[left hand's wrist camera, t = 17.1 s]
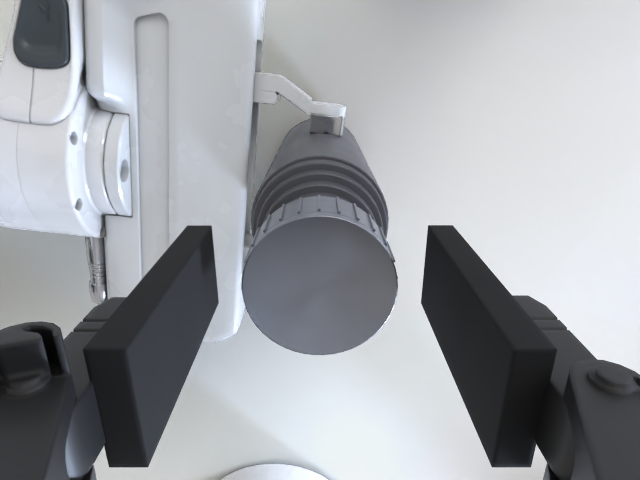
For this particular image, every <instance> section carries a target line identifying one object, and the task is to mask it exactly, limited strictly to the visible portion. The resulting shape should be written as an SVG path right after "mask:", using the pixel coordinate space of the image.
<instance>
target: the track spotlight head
mask: <svg viewBox="0 0 640 480" xmlns="http://www.w3.org/2000/svg"><path fill="white" fill-rule="evenodd" d="M309 124H310V119H309V120H306V121H304V122H301V123H300V124H298V125H296V126H295V127H294V128H293V129H292V130H291V131H290V132H289V133H288V134H287V136H286V137H285V139H284V141H283V143H282V145H281V147H280V149H279V151H278V153H277V155H276V157H275V159H274V161H273V163H272V165H271V167H270V169H269V171H268V173H267V175H266V177H265V179H264V181H263V183H262V185H261V187H260V189H259V191H258V193H257V195H256V197H255V200H254V203H253V207H252V212H251V229H252V235H253V239H254V236H255V234H256V231H257V229H258V227H259V228H261V226H262V225H263V223H264V222H265V221H266V219H267V217H268V215H269V214H273V213H274V212H275V211H276V210H278V209H279V208H280V207H282V205H283V204H285V205H286V204H288V203H290V202H292V201H295V200H298V199H299V198H300V197H302V198H306V197H314V196H318V195H321V196H326V197H333V198H336V197H339V199H341V200H345V201H347V202H349V203H352V204H354V203H355V204H356V206H357V207H359V208H360V209H362V210H363V211H364V212H366V213H367V214H368V213H369V214H370V215H371V218H372V219H373V220H374V221H375V223H376V224H377V226H378V227H381V228H382V231H383V234H384V236H385V239H386V237H387V230H388V210H387V206H386V202H385V199H384V196H383V194H382V192H381V190H380V188H379V186H378V184H377V182H376V180H375V178H374V176H373V174H372V172H371V170H370V168H369V166H368V164H367V162H366V160H365V158H364V156H363V154H362V152H361V150H360V148H359V146H358V144H357V142H356V140H355V138H354V136H353V135H352V134H351V132H350V131H349V130H348V129H347V128H345V127H344V128H343V134H342V136H335V135H331V134H329V133H327V132H324V133H310V132H309Z"/></svg>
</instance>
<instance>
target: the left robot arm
mask: <svg viewBox="0 0 640 480" xmlns="http://www.w3.org/2000/svg"><path fill="white" fill-rule="evenodd" d="M218 304H219V299H218V288H217V277H216V267H215V256H214V245H213V234H212V225H187V227H186V228H185V229H184V230H183V231H182V232H181V234H180V235H179V236H178V237H177V238H176V240H175V241H174V242H173V243H172V244H171V245H170V247H169V248H168V249H167V250H166V251H165V253H164V254H163V255H162V256H161V257H160V258H159V260H158V261H157V262H156V263H155V264H154V266H153V267H152V268H151V269H150V270H149V271H148V273H147V274H146V275H145V276H144V277H143V279H142V280H141V281H140V282H139V283H138V284H137V286H136V287H135V288H134V289H133V290H132V292H131V293H130V294H129V295H128V296H127V297H112V298H110V299H108V300H106V301H105V302H103V303H101V304H99V305H98V306H96V307H94V308H93V309H92V311H91V312H90V313H89V314H88V315H87V316H86V317H85V318H84V319H83V322H80V323H79V324H78V325H77V326H76V327H75V328H74V331H73V332H71V333H70V334H69V335H68V336H67V337H66V338H65V339H64V340H63V337H62V333H61V329H60V327H58V326H57V325H55V324H54V323H47V322H29V323H23V324H19V325H15V326H10V327H7V328H5V329H2V330H0V480H96V474H95V469H94V465H93V464H94V462H95V460H96V458H97V457H98V455H99V453H100V451H101V450H102V448H103V446H105V451H106V455H107V460H108V464H109V467H148V466H149V463H150V461H151V459H152V456H153V454H154V452H155V450H156V447H157V445H158V443H159V440H160V438H161V436H162V433H163V431H164V429H165V426H166V424H167V422H168V419H169V417H170V415H171V412H172V410H173V408H174V406H175V403H176V401H177V399H178V396H179V394H180V392H181V389H182V387H183V385H184V382H185V380H186V378H187V375H188V373H189V371H190V369H191V366H192V364H193V362H194V359H195V357H196V355H197V352H198V350H199V348H200V345H201V343H202V341H203V338H204V336H205V334H206V331H207V329H208V327H209V325H210V322H211V320H212V318H213V315H214V313H215V311H216V308H217V306H218ZM421 304H422V306H423V308H424V311H425V313H426V315H427V318H428V320H429V322H430V325H431V327H432V329H433V331H434V334H435V336H436V338H437V341H438V343H439V345H440V348H441V350H442V352H443V355H444V357H445V359H446V362H447V364H448V366H449V369H450V371H451V373H452V375H453V378H454V380H455V382H456V385H457V387H458V389H459V392H460V394H461V396H462V399H463V401H464V403H465V406H466V408H467V410H468V412H469V415H470V417H471V419H472V422H473V424H474V426H475V429H476V431H477V433H478V436H479V438H480V440H481V443H482V445H483V447H484V450H485V452H486V454H487V456H488V459H489V461H490V463H491V466H492V467H531V464H532V460H533V455H534V451H535V446H536V444H537V446H538V447H539V449H540V451H541V453H542V454H543V456H544V458H545V459H546V461H547V465H546V469H545V474H544V478H543V480H640V375H639V374H638V373H636V372H635V371H632V370H630V369H628V368H626V367H624V366H621V365H619V364H615V363H612V362H608V361H604V360H597V359H596V358H595V357H594V356H593V355H592V354H591V353H590V352H589V351H588V350H587V349H586V347H585V346H584V345H583V344H582V343H581V342H580V341H579V340H578V339H577V338H576V337H575V336H574V335H573V334H572V333H571V332H570V331H569V330H567V328H566V326H565V325H564V324H563V323H562V322H561V321H560V320H557V317H556V316H555V315H554V314H553V313H552V312H551V311H550V310H549V309H548V308H547V307H546V306H545V305H543V304H542V303H540V302H538V301H536V300H535V299H533V298H531V297H529V296H512V295H511V294H510V293H509V292H508V290H507V289H506V288H505V287H504V286H503V284H502V283H501V282H500V281H499V280H498V279H497V277H496V276H495V275H494V274H493V273H492V271H491V270H490V269H489V268H488V267H487V266H486V264H485V263H484V262H483V261H482V260H481V258H480V257H479V256H478V255H477V254H476V253H475V251H474V250H473V249H472V248H471V247H470V245H469V244H468V243H467V242H466V241H465V240H464V238H463V237H462V236H461V235H460V234H459V232H458V231H457V230H456V229H455V228H454V227H453V225H428V234H427V245H426V256H425V267H424V277H423V288H422V299H421Z"/></svg>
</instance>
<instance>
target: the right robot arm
mask: <svg viewBox="0 0 640 480" xmlns="http://www.w3.org/2000/svg"><path fill="white" fill-rule="evenodd" d="M265 8H266V0H16V1H15V6H14V12H13V17H12V22H11V26H10V31H9V36H8V40H7V44H6V48H5V52H4V56H3V58H0V226H2V227H7V228H13V229H22V230H31V231H40V232H49V233H60V234H69V235H77V236H85V240H86V252H87V260H88V265H89V270H90V281H89V291H90V296H91V299H92V301H93V302H95V303H98V305H99V304H101V303H103V302H105V301H106V300H108V299H110V298H112V297H127V296H128V295H129V294H130V293H131V292H132V290H133V289H134V288H135V287H136V286H137V284H138V283H139V282H140V281H141V280H142V279H143V277H144V276H145V275H146V274H147V273H148V271H149V270H150V269H151V268H152V267H153V266H154V264H155V263H156V262H157V261H158V260H159V258H160V257H161V256H162V255H163V254H164V253H165V251H166V250H167V249H168V248H169V247H170V245H171V244H172V243H173V242H174V241H175V240H176V238H177V237H178V236H179V235H180V234H181V232H182V231H183V230H184V229H185V228H186V227H187V225H212V234H213V245H214V256H215V267H216V277H217V288H218V299H219V304H218V306H217V308H216V311H215V313H214V315H213V318H212V320H211V322H210V325H209V327H208V329H207V331H206V334H205V336H204V338H203V341H211V342H220V341H223V340H224V339H226V338H228V337H230V336H232V335H234V334H235V333H236V332H237V331H238V329H239V326H240V323H241V321H242V317H243V313H244V310H245V303H244V300H243V295H242V275H243V270H244V266H245V263H244V260H245V258H246V255H247V253H248V250H249V248H250V245H251V243H252V242H253V235H252V234H250V229H251V212H252V199H253V185H254V170H255V155H256V141H257V126H258V111H259V103H265V104H275V103H277V102H278V101H279V100H280V94H281V95H282V96H283V97H285V98H286V99H287V100H289V101H290V102H291V103H293V104H294V105H295V106H297V107H298V108H299V109H301V110H302V111H303V112H305V113H306V114H307V115H309V116H310V124H309V132H310V133H324V132H327V133H329V134H331V135H335V136H342V134H343V128H344V121H345V114H346V105H341V104H335V103H327V102H319V101H312V98H311V97H310V96H309V95H308V94H306V93H305V92H304V91H302V90H301V89H300V88H299V87H297V86H296V85H295V84H293V83H292V82H291V81H290V80H288V79H287V78H286V77H284V76H283V75H279V74H271V73H263V72H261V67H262V53H263V38H264V23H265ZM221 480H328V479H327V478H325V477H323V476H322V475H320V474H318V473H316V472H313V471H311V470H308V469H305V468H302V467H298V466H293V465H286V464H261V465H254V466H250V467H246V468H243V469H240V470H237V471H235V472H232V473H230V474H228V475H227V476H225V477H224V478H222V479H221Z"/></svg>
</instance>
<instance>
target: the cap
mask: <svg viewBox="0 0 640 480" xmlns="http://www.w3.org/2000/svg"><path fill="white" fill-rule="evenodd" d="M393 262H395V259H394V257H393V254H392V252H391V249H390V247H389V244H388V242H387V241H386V239H385V236H384V234H383V231H382V228H381V227H378V226H377V224H376V223H375V221H374V220H373V219H372V218H371V215H370V214H369V213H368V214H367V213H366V212H364V211H363V210H362V209H360V208H359V207H357V206H356V204H355V203H354V204H352V203H349V202H347V201H345V200H341V199H339V197H336V198H333V197H326V196H321V195H318V196H314V197H306V198H302V197H300V198H299V199H298V200H295V201H292V202H290V203H288V204H286V205H285V204H283V205H282V207H280V208H279V209H278V210H276V211H275V212H274V213H273V214H269V215H268V217H267V219H266V221H265V222H264V223H263V225H262V226H261V228H259V227H258V229H257V231H256V234H255V236H254V239H253V242H252V243H251V245H250V248H249V250H248V253H247V255H246V258H245V260H244V263H245V266H244V270H243V275H242V295H243V300H244V303H245V306H246V309H247V311H248V313H249V315H250V317H251V319H252V320H253V322H254V323H255V325H256V326H257V327H258V328H259V329H260V330H261V332H262V333H263V334H265V335H266V336H267V337H268V338H269V339H271V340H272V341H274V342H275V343H277V344H279V345H281V346H283V347H285V348H287V349H289V350H292V351H295V352H299V353H303V354H311V355H328V354H336V353H340V352H344V351H347V350H350V349H352V348H355V347H357V346H359V345H361V344H362V343H364V342H366V341H367V340H369V339H370V338H371V337H372V336H374V335H375V334H376V333H377V332H378V331H379V330H380V329H381V328H382V326H383V325H384V324H385V322H386V321H387V319H388V318H389V316H390V314H391V312H392V310H393V307H394V305H395V301H396V297H397V288H398V283H397V279H398V277H397V274H396V269H395V266H394V263H393Z"/></svg>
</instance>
